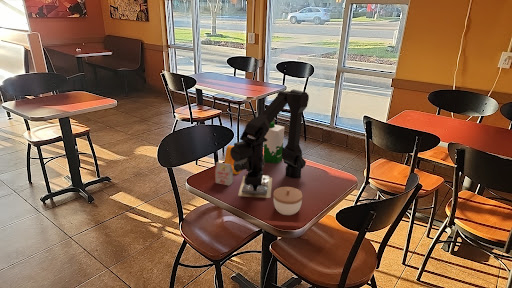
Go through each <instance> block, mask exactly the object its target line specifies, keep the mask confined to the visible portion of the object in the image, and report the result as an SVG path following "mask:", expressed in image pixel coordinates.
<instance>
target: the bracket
mask: <svg viewBox="0 0 512 288" xmlns="http://www.w3.org/2000/svg"><path fill="white" fill-rule="evenodd" d="M232 147H234V145H231V144H230V145H229V144H228V145H227V147H226V150H225V156H224V157H225V158H224V163H225V164H231V167H232V170H233V175H240V173H241V172H242V171H239V172H236V171H235V170H234V166H233V164H234V160H233V159H232V157H231V154H230V150H231V148H232Z"/></svg>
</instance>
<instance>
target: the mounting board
mask: <svg viewBox="0 0 512 288" xmlns="http://www.w3.org/2000/svg"><path fill="white" fill-rule="evenodd" d="M245 176H246V175H243V176H242V179H241V183H240V186H239V190H238V193H237V196H238V197H248V198H249V197H250V198H264V199H265V198H270V199H271V197H272V187H273V184H272V183H273V177H269V182H268V190H267V194H261V193H244V192H242V188H243V186H244V180H245Z"/></svg>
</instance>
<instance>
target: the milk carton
mask: <svg viewBox="0 0 512 288" xmlns="http://www.w3.org/2000/svg"><path fill="white" fill-rule="evenodd" d="M284 135H285V126H282V125H279V124H275V122H274V120H273V121H272V122H271V124H270V127H269V131H268V132H267V134H266V135H265V138H266V139H267V141H266V142H263V159H264V160H265V164H266V163H267V164H279V163H281V162H282V161H283V159H282V156H281V155H282V148H284ZM280 161H281V162H280Z"/></svg>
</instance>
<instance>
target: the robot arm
mask: <svg viewBox="0 0 512 288" xmlns="http://www.w3.org/2000/svg"><path fill="white" fill-rule="evenodd" d="M309 97H310V96H309V93H308V92H306V91H302V90H299V89H294V88H293V89H291V90H290V91H288V90H280V91H278V92H277V95H276V96H275V97H274V98H273V100H272V101H271V102H270V103H269V105H267V107H266V108H265V109H264V110H263V111H262V113H260V115H258V116H256V117H253V118H252V119H251V120H250V121H249V122H247V123H246V125H245V127H244V130H243V132H242V133H241V136H240V138H239V140H240V141H239V142H237V141H236V142H235V143H233V146H234V147H232V148H231V150H230V154H231V157H232V159H233V160H234V164H233V166H234V170H235V171H236V172H239V171H241V172H242V171H244V170H246V172H247V174H245V175H244V176H245V184H249V185H253V189H255V190H256V189H257V187H258V185H261V184H262V177H263V175H264V169H263V168H264V167H265V164H266V162H265V160H264V159H263V157H264V142H266V141H267V139H266V138H265V135H266V134H267V132H268V131H269V127H270V124H271V122H272V121H273V122H274V120H275V119H276V118H277V116H278V115H279V114H280V113H281V111H282V110H283V109H284V108H285V107H286V105H287V106H288V108H289V111H290V113H289V116H290V117H289V125H288V134H287V135H288V136H287V144H286V145H285V147H283V148H282V155H281V156H282V161H283V164H286V165H285V173H284V174H285V177H289V178H290V179H298V178H302V169H303V170H304V167H305V166H306V163H307V162H306V160H305V159H304V158H303V150H302V148H301V146H300V140H301V139H300V138H301V129H302V121H303V113H304V111H305V110H306V109H307V107H308V104H309ZM251 137H252V138H251Z"/></svg>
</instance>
